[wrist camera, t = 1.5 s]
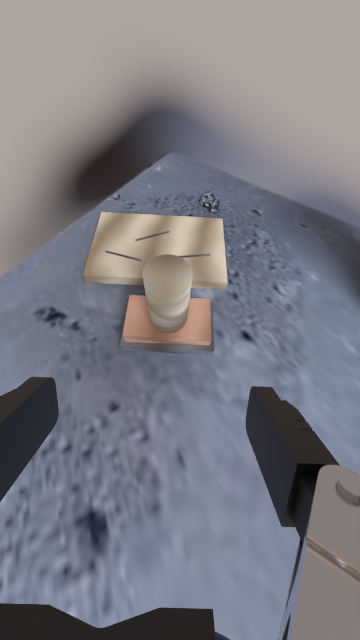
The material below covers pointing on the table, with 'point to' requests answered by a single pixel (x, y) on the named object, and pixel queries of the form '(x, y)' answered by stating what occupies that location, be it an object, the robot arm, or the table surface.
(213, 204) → the gravel pile
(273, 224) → the table surface
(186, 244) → the board
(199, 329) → the block
